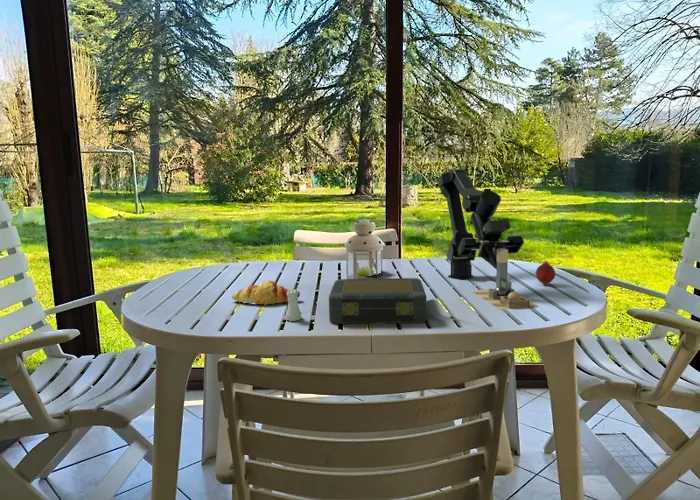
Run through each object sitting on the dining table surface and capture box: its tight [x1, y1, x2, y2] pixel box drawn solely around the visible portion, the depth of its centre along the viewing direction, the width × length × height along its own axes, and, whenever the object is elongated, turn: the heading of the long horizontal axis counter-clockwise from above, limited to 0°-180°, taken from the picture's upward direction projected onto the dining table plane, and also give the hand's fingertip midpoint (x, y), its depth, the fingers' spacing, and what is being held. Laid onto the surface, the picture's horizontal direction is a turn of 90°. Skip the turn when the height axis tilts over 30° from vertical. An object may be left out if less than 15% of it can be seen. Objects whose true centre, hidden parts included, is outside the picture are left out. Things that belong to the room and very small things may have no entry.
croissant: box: [231, 280, 301, 306], centre depth 146 cm, size 21×10×8 cm, turn 86°
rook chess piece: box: [285, 288, 303, 322], centre depth 128 cm, size 4×4×8 cm
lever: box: [494, 248, 512, 297], centre depth 135 cm, size 5×3×14 cm, turn 8°
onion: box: [535, 260, 556, 286], centre depth 156 cm, size 6×6×8 cm
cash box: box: [328, 277, 427, 325], centre depth 132 cm, size 25×20×8 cm
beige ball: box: [508, 291, 523, 301], centre depth 130 cm, size 4×4×4 cm
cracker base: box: [471, 287, 540, 310], centre depth 137 cm, size 20×11×4 cm, turn 8°
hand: (498, 269), depth 139 cm, fingers closed
